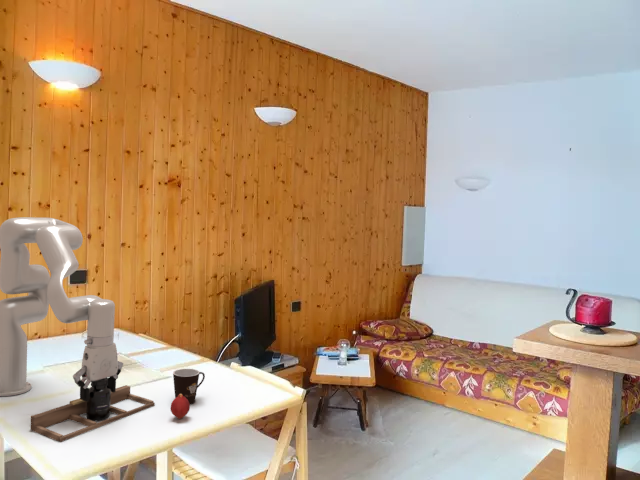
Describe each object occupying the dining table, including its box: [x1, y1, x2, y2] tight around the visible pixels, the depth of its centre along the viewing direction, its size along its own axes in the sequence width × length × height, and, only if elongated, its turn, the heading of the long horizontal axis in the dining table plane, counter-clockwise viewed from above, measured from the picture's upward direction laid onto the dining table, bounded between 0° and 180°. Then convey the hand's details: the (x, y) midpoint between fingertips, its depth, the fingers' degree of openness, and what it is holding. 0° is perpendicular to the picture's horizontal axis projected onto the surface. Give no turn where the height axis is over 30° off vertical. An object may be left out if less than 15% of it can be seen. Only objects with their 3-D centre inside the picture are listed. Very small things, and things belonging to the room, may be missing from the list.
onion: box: [170, 394, 191, 420], centre depth 169 cm, size 6×6×8 cm
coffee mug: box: [172, 368, 206, 405], centre depth 184 cm, size 12×9×10 cm
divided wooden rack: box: [30, 384, 156, 443], centre depth 167 cm, size 14×34×5 cm, turn 151°
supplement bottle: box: [85, 377, 111, 422], centre depth 167 cm, size 7×7×12 cm
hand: (98, 395), depth 167 cm, fingers open, 9 cm apart
